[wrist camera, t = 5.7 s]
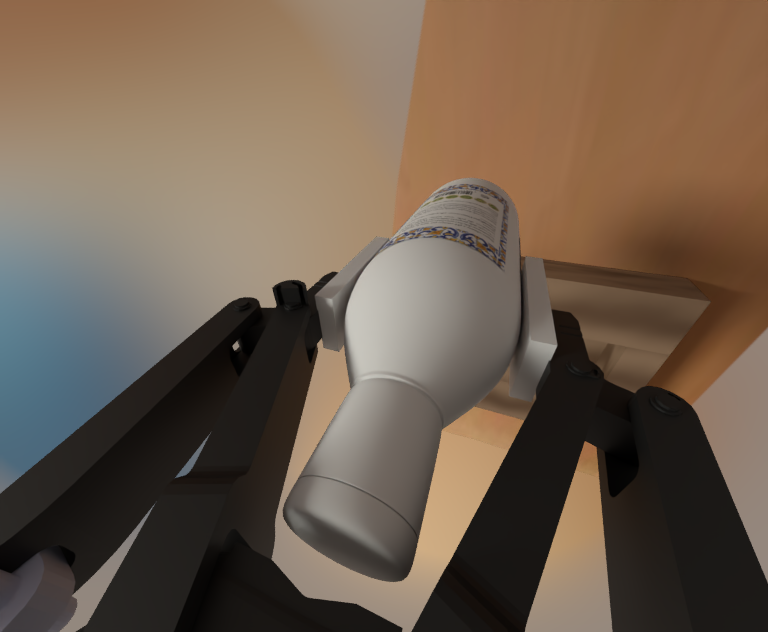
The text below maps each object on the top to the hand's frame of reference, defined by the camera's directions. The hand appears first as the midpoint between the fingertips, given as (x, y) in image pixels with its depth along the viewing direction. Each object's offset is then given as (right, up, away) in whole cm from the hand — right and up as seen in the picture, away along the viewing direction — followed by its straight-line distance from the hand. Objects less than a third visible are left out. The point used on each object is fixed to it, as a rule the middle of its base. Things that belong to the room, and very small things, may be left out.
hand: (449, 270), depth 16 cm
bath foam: (+2, +4, +6) cm, 7 cm away
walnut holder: (+21, -6, +26) cm, 34 cm away
